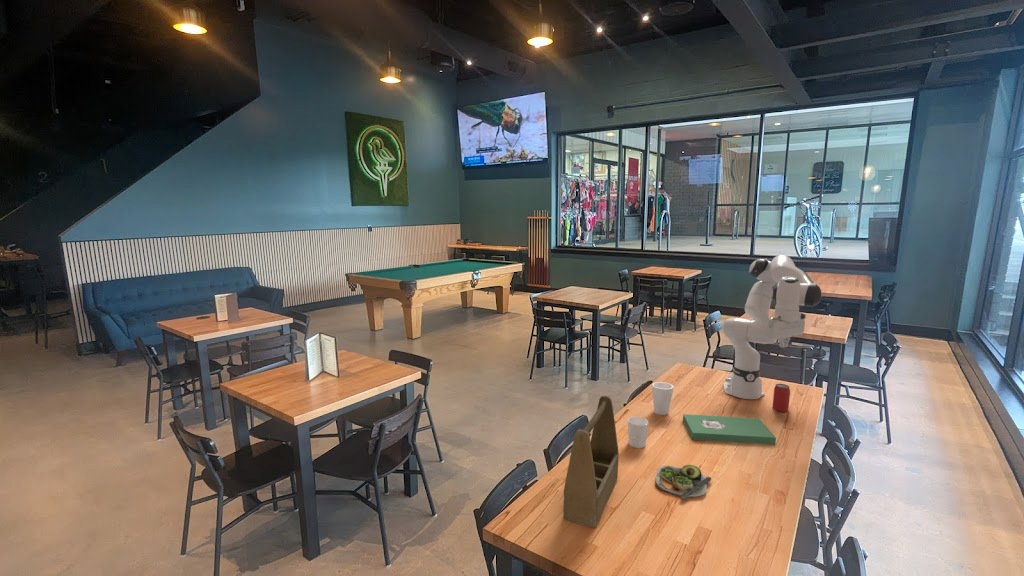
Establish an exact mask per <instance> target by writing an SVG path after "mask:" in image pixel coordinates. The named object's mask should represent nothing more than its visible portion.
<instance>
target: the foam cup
mask: <svg viewBox="0 0 1024 576" xmlns="http://www.w3.org/2000/svg"><path fill="white" fill-rule="evenodd" d="M651 392H652V400H653V401H652V402H653V411H654V413H655V414H657V415H660V416H666V415H669V413H670V407H671V402H672V397H673V393H674V385H673V384H671V383H669V382H665V381H657V382H653V383H652V385H651Z"/></svg>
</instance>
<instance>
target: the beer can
mask: <svg viewBox="0 0 1024 576" xmlns="http://www.w3.org/2000/svg"><path fill="white" fill-rule="evenodd" d="M790 396H791V389H790V386H789V385H787V384H784V383H776V384H775V386H774V389H773V397H772V399H773V400H772V409H773V411H776V412H778V413H787V412H788V411H789V409H790V407H789V406H790V398H791V397H790Z"/></svg>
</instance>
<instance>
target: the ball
mask: <svg viewBox="0 0 1024 576" xmlns="http://www.w3.org/2000/svg"><path fill="white" fill-rule="evenodd" d="M709 427H719V425H718V424H717V423H716V422H710V423H709Z"/></svg>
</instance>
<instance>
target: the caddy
mask: <svg viewBox="0 0 1024 576" xmlns="http://www.w3.org/2000/svg"><path fill="white" fill-rule="evenodd" d="M591 432H592V433H591ZM590 433H591V438H590ZM619 457H620V456H619V446H618V438H617V428H616V421H615V414H614V406H613V399H612V398H611V397H610V396H609V395H601V396H600V398H599V401H598V404H597V409H596V411H595V413H594V415H593V416H592V418H590V420H589V421H588V423H587V424H586V426H585V427H584V429H577V430H576V432H575V434H574V437H573V442H572V446H571V450H570V458H569V463H568V466H567V467H568V468H567V472H566V476H565V477H566V478H565V483H564V489H563V517H562V518H563V520H565V521H567V522H572V523H576V524H579V525H582V526H586V527H590V528H593V529H597V527H598V525H599V522H600V520H601V517H602V515H603V512H604V510H605V508H606V505H607V503H608V501H609V499H610V496H611V494H612V493H613V490H614V487H615V485H616V482H617V481H618V476H619Z"/></svg>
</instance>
